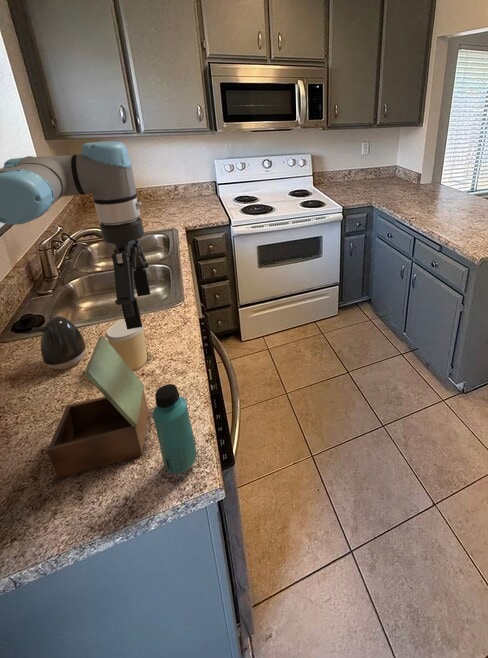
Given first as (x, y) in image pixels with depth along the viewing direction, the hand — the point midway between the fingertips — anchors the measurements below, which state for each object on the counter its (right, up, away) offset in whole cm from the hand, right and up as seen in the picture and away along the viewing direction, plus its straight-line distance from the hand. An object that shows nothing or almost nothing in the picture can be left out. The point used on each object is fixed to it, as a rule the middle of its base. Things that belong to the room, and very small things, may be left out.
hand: (139, 310), depth 79 cm
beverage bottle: (+11, -31, -5) cm, 34 cm away
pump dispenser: (-34, -21, +25) cm, 47 cm away
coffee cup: (-15, -21, +25) cm, 36 cm away
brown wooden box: (-7, -30, 0) cm, 31 cm away
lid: (-3, -14, -4) cm, 15 cm away
